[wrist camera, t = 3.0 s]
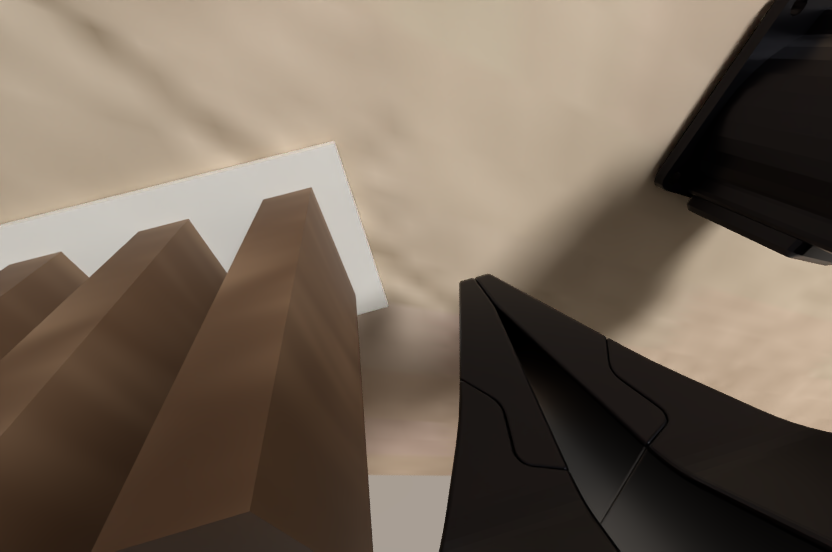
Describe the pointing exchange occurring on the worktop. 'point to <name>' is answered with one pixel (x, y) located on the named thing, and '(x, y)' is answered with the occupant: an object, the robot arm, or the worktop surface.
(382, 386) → the worktop surface
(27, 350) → the domino
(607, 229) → the worktop surface
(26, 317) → the domino
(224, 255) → the rack
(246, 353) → the domino
